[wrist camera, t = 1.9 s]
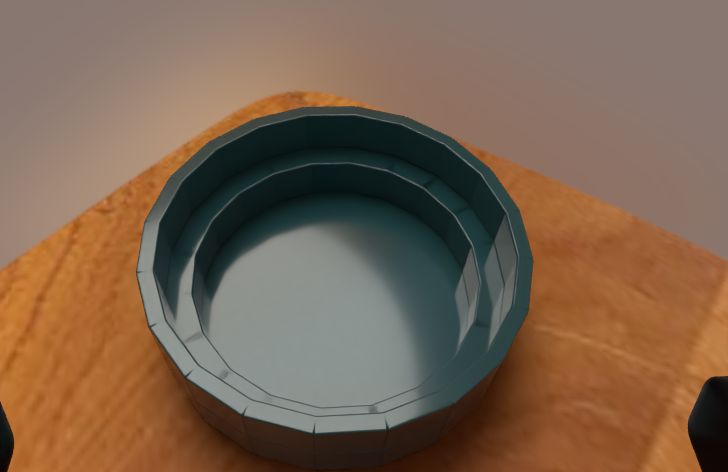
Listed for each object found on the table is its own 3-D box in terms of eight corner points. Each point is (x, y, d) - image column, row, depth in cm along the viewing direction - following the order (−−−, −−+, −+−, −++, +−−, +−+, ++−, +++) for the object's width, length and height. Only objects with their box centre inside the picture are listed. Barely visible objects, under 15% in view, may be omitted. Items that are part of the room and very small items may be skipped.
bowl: (571, 323, 26) (611, 265, 22) (304, 564, 20) (299, 540, 17) (357, 133, 32) (361, 63, 28) (102, 277, 26) (66, 213, 22)
